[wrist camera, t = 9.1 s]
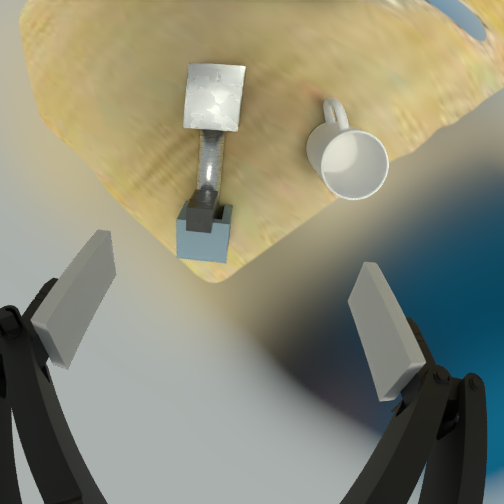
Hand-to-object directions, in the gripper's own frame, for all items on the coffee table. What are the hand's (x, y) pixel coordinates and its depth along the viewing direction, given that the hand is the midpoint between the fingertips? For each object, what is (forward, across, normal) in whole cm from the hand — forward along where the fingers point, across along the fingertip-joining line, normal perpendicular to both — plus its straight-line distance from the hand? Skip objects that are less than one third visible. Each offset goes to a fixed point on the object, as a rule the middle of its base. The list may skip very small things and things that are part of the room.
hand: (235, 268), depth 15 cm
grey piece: (+28, -4, -4) cm, 28 cm away
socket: (+29, -4, -12) cm, 31 cm away
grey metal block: (+29, -5, +7) cm, 30 cm away
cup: (+29, +11, +3) cm, 32 cm away
